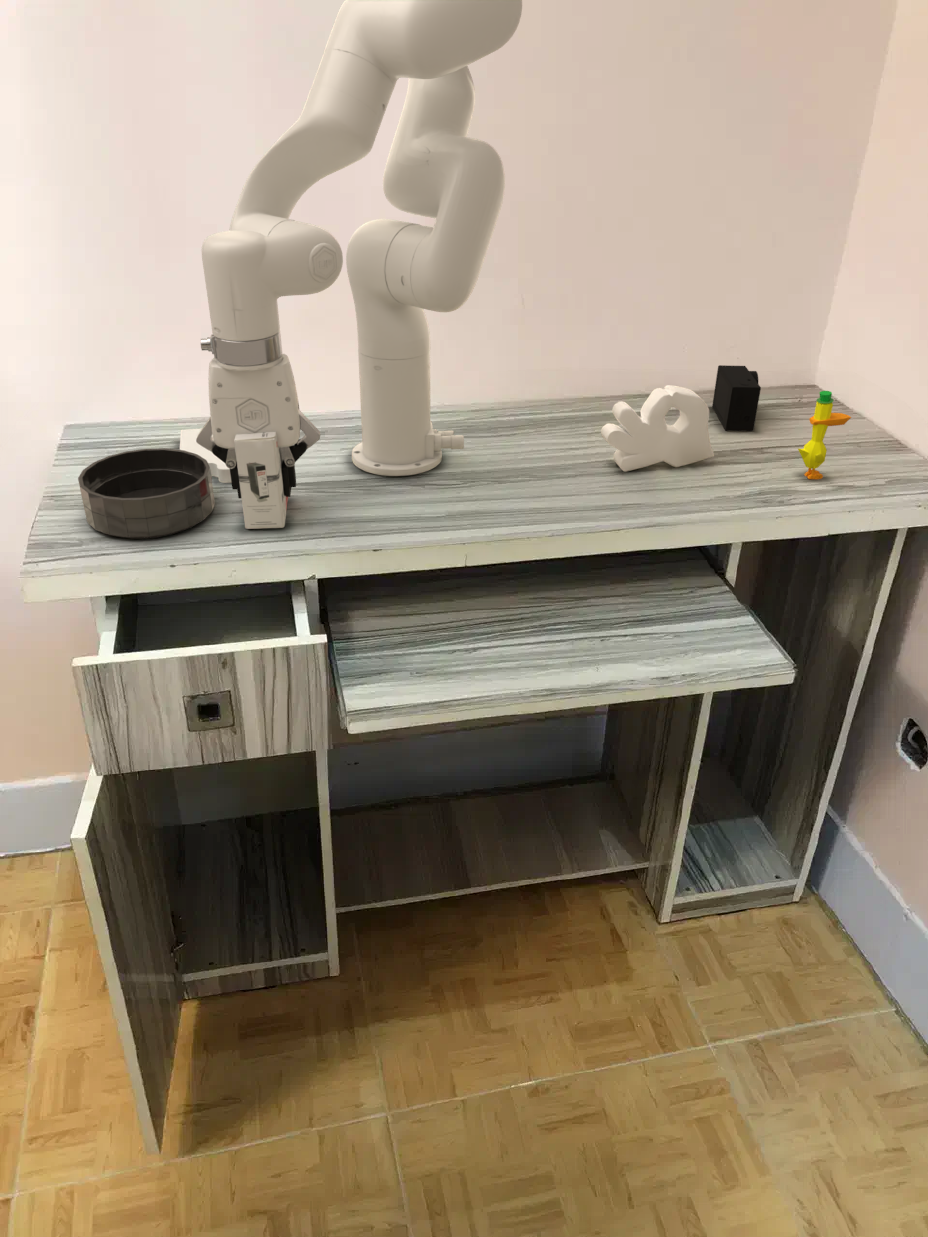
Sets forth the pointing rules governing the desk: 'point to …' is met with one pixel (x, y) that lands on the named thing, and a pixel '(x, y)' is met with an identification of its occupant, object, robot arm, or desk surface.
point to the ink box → (261, 480)
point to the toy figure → (820, 434)
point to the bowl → (147, 493)
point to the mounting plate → (204, 454)
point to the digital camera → (736, 397)
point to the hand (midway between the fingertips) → (265, 491)
